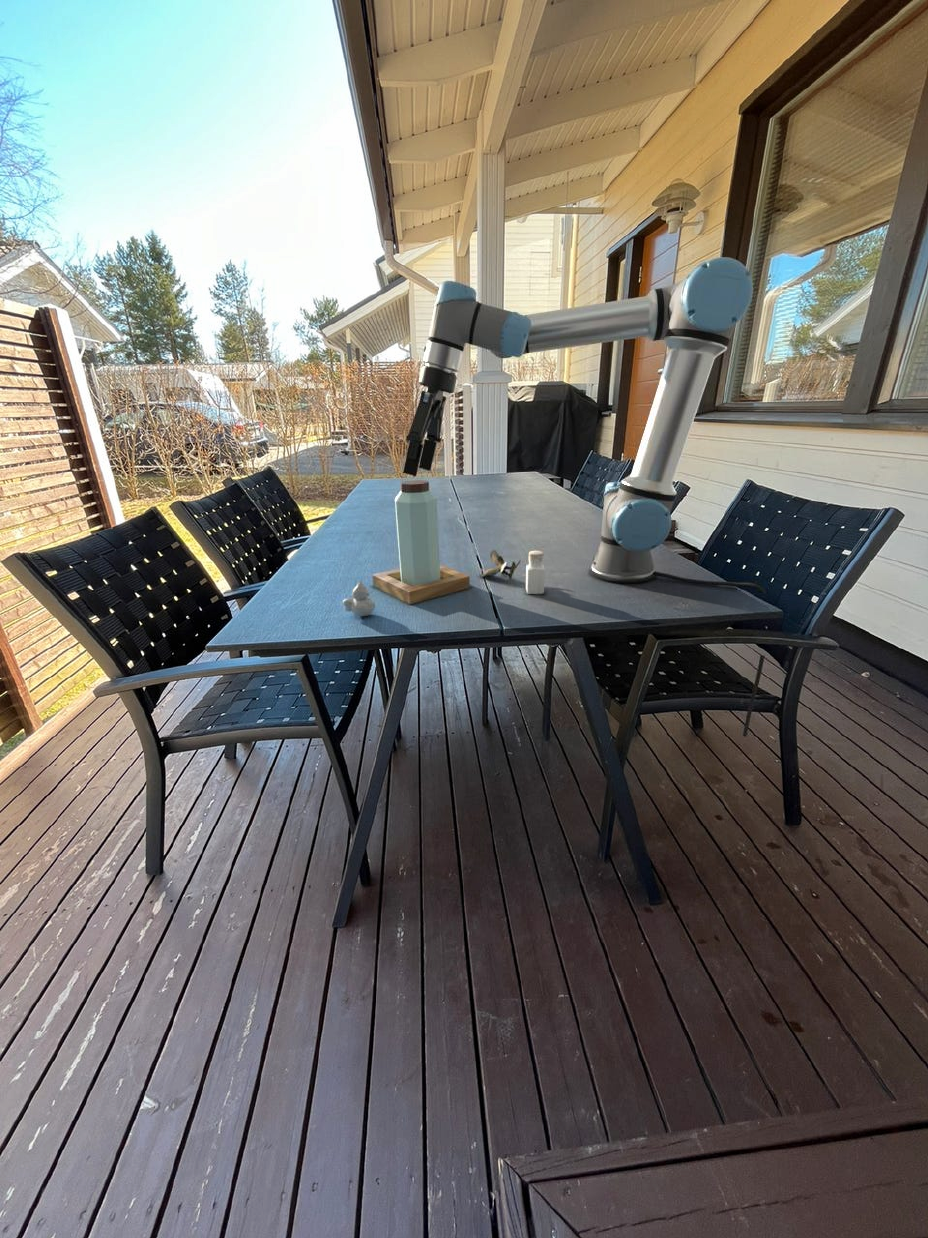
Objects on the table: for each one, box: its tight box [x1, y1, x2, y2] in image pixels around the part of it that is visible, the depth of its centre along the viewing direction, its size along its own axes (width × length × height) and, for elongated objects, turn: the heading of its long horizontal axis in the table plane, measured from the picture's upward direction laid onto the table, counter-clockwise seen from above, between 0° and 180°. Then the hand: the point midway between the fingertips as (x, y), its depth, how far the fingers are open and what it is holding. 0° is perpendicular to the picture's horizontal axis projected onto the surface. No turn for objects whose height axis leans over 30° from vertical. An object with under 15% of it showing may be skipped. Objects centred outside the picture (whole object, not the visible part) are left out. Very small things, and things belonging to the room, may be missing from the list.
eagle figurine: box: [480, 549, 521, 581], centre depth 132 cm, size 8×7×9 cm
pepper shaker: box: [525, 550, 546, 595], centre depth 121 cm, size 4×4×10 cm
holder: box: [372, 564, 471, 605], centre depth 127 cm, size 17×17×3 cm
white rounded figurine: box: [342, 580, 376, 617], centre depth 110 cm, size 5×7×8 cm
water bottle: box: [394, 479, 441, 587], centre depth 123 cm, size 10×10×25 cm
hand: (417, 471), depth 116 cm, fingers open, 13 cm apart
